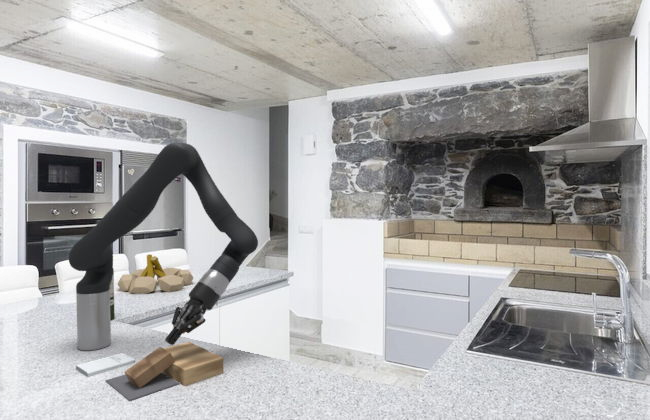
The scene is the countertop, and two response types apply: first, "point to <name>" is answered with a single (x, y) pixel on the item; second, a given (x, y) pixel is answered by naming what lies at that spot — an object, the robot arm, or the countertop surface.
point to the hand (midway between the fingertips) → (168, 343)
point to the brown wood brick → (149, 367)
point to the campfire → (146, 283)
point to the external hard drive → (104, 364)
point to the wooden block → (193, 363)
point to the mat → (134, 392)
